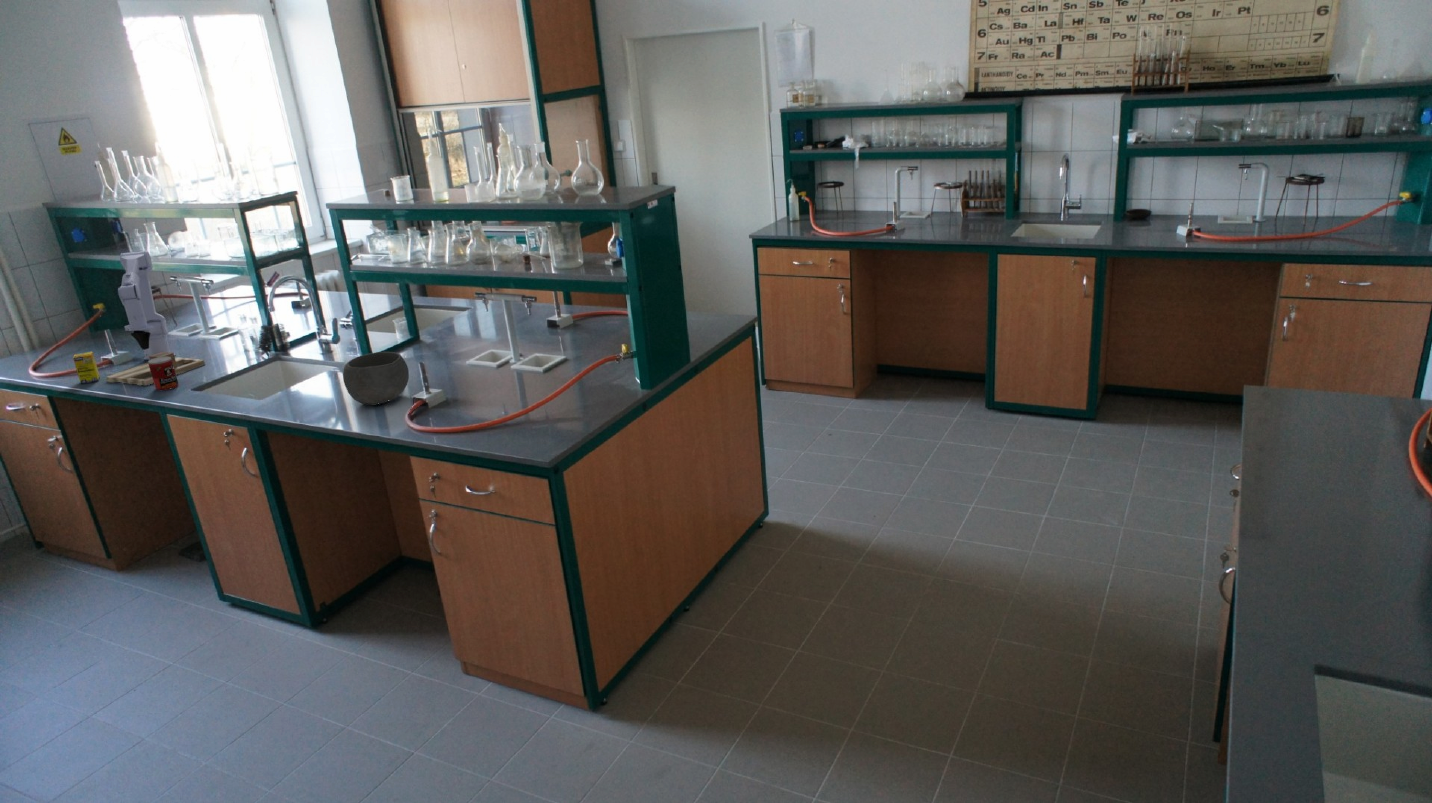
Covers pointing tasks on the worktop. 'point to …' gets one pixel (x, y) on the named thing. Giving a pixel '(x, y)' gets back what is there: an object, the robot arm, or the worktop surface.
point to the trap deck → (143, 373)
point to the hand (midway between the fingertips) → (145, 348)
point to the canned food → (163, 373)
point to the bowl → (376, 377)
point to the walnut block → (165, 355)
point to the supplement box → (86, 367)
